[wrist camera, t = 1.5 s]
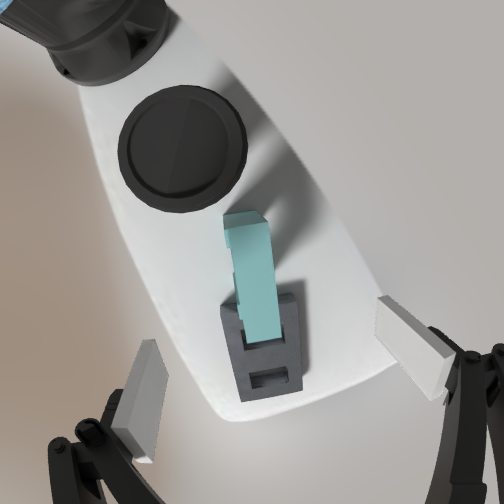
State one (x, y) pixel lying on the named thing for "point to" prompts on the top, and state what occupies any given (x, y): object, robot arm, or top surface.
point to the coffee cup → (182, 149)
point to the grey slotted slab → (265, 353)
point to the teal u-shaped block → (253, 274)
